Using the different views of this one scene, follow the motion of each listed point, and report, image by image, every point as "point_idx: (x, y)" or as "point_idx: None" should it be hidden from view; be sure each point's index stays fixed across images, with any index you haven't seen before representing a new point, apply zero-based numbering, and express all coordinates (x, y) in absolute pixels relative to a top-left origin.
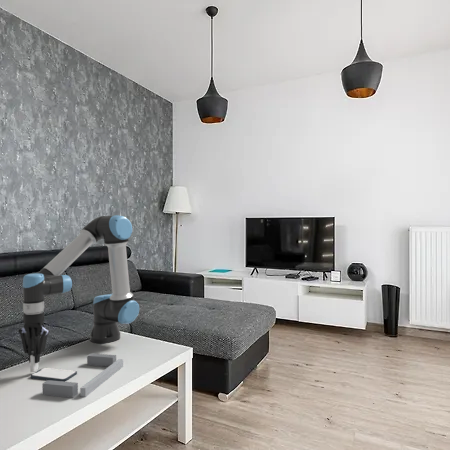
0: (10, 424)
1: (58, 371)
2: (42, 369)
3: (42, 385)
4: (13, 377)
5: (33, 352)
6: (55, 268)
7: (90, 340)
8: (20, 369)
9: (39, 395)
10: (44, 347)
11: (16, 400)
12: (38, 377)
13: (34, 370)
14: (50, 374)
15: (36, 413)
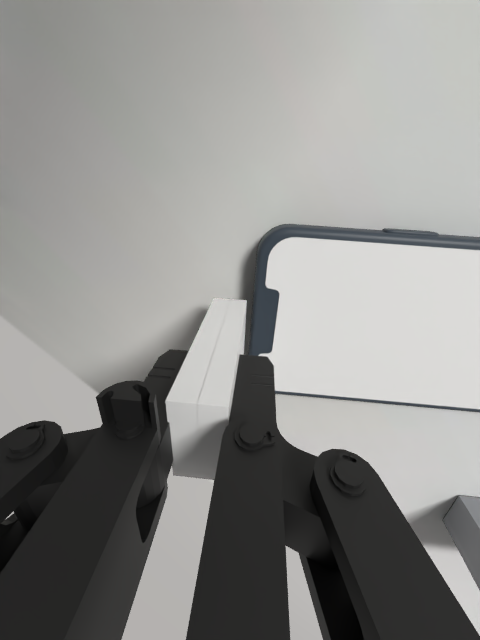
0: None
1: (456, 303)
2: (279, 287)
3: (473, 578)
4: (134, 375)
5: (160, 453)
6: None
7: None
8: (47, 245)
9: (428, 522)
10: (445, 610)
11: None
12: (324, 395)
13: (243, 347)
14: (404, 364)
15: (474, 601)
